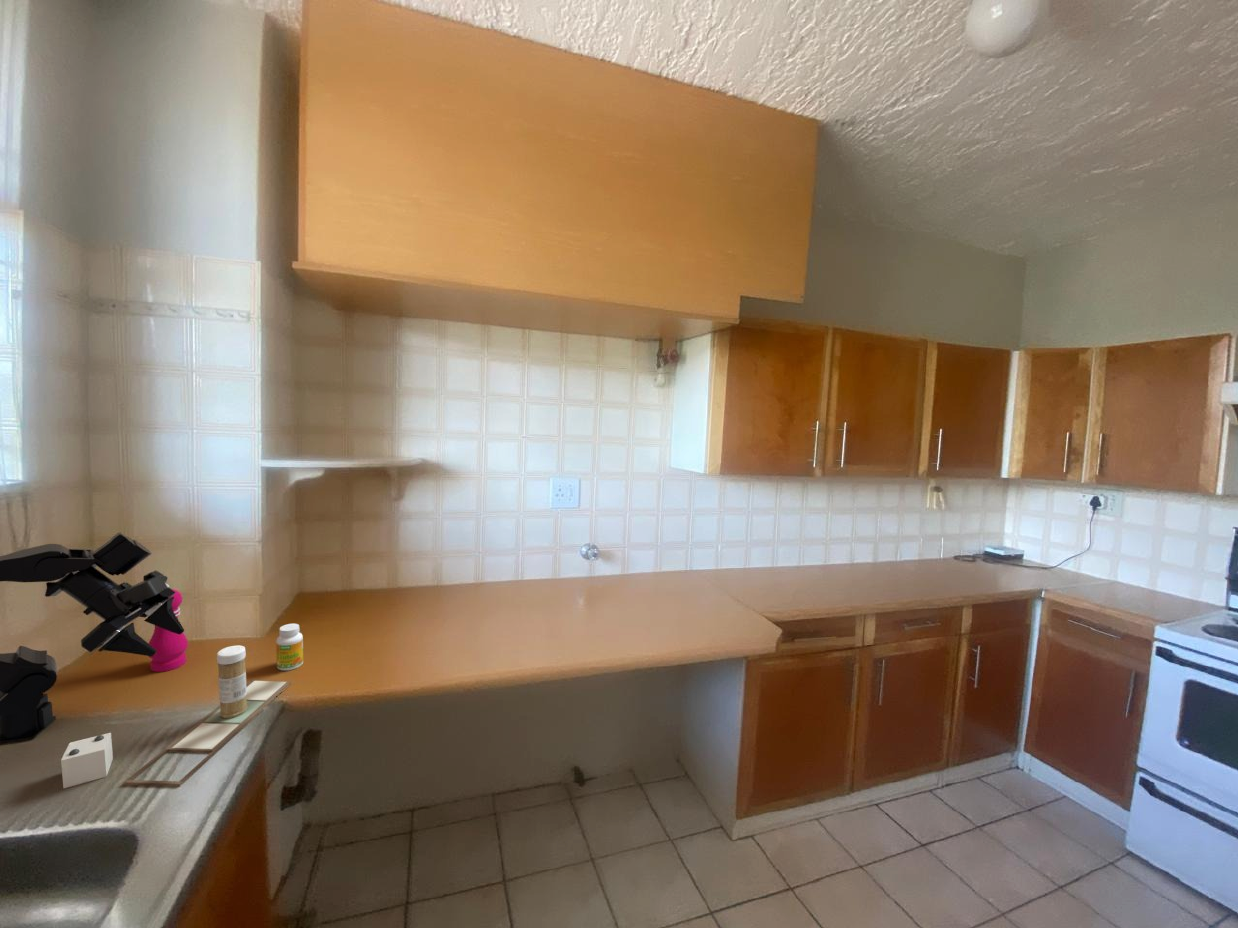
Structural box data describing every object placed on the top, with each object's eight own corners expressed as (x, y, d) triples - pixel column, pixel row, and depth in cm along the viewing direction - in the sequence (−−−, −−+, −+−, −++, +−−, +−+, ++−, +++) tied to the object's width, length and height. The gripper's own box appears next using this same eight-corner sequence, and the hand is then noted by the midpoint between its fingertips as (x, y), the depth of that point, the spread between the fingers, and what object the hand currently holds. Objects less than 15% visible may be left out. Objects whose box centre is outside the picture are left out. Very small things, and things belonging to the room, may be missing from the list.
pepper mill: (155, 676, 114) (150, 592, 111) (142, 666, 117) (137, 584, 115) (194, 663, 120) (190, 582, 118) (180, 654, 124) (176, 575, 121)
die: (63, 788, 82) (60, 756, 82) (72, 769, 86) (69, 739, 86) (106, 776, 85) (104, 745, 84) (112, 758, 89) (110, 729, 88)
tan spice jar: (242, 702, 106) (240, 642, 104) (251, 711, 103) (249, 649, 101) (215, 712, 102) (213, 650, 100) (223, 722, 99) (221, 658, 98)
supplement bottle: (277, 673, 118) (276, 634, 117) (276, 662, 122) (275, 625, 121) (304, 667, 121) (303, 629, 120) (302, 657, 125) (301, 620, 124)
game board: (123, 784, 84) (123, 781, 84) (250, 682, 114) (250, 679, 114) (179, 786, 84) (179, 783, 84) (291, 683, 114) (291, 681, 114)
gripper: (96, 581, 91) (172, 636, 95) (162, 550, 108) (223, 597, 113) (45, 625, 90) (124, 678, 94) (120, 586, 108) (184, 632, 112)
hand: (169, 642), depth 103 cm, fingers open, 9 cm apart
